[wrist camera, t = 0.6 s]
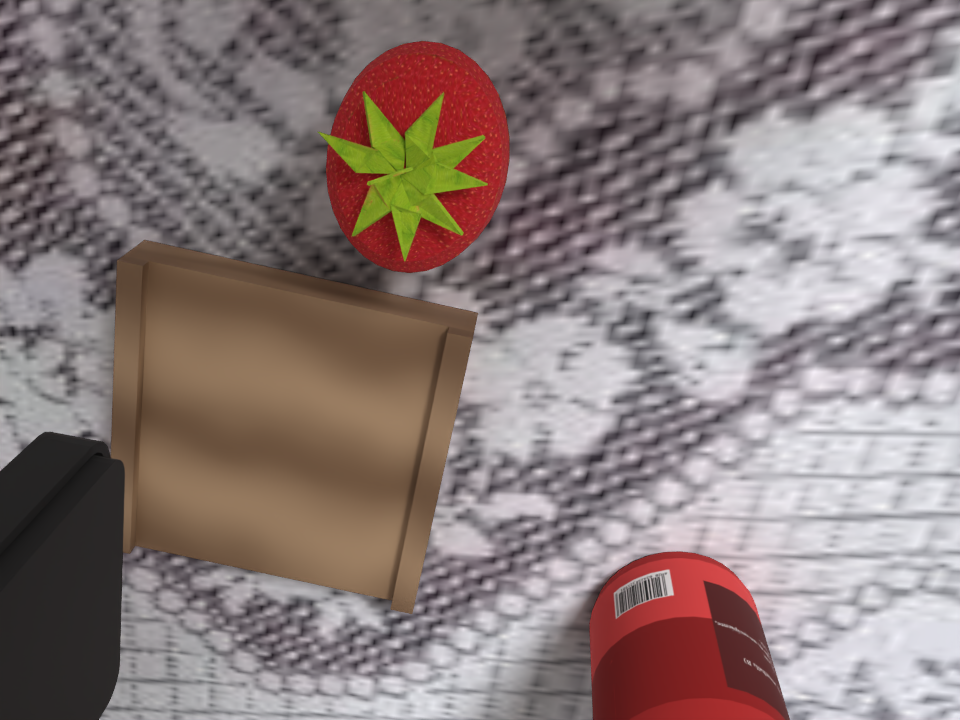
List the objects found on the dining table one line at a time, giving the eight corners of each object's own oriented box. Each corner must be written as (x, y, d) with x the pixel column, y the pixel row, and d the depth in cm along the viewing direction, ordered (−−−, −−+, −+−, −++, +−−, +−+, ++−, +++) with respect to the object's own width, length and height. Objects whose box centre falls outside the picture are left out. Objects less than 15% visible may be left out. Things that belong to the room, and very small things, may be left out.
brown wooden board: (144, 240, 38) (117, 260, 35) (478, 312, 38) (472, 338, 36) (131, 516, 44) (107, 548, 41) (419, 577, 44) (412, 613, 42)
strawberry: (346, 205, 36) (275, 295, 27) (378, 7, 33) (311, 35, 24) (490, 240, 37) (468, 341, 28) (537, 46, 33) (529, 89, 24)
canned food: (565, 649, 45) (566, 852, 35) (626, 523, 42) (648, 709, 32) (710, 695, 46) (752, 907, 36) (783, 574, 42) (851, 772, 32)
